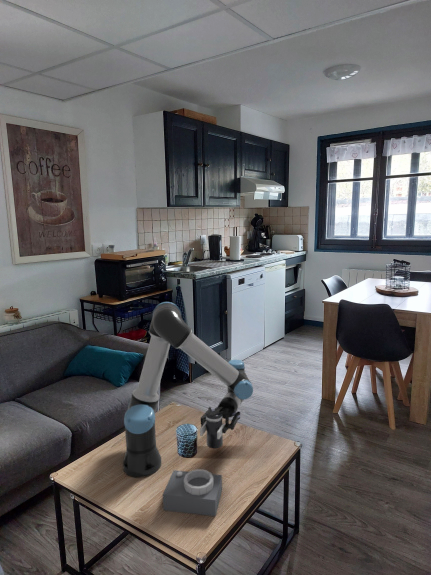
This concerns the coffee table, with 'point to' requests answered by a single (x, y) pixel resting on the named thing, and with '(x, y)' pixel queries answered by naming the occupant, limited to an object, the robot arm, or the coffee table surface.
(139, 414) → the robot arm
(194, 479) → the camera body
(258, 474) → the coffee table surface
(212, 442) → the lens
